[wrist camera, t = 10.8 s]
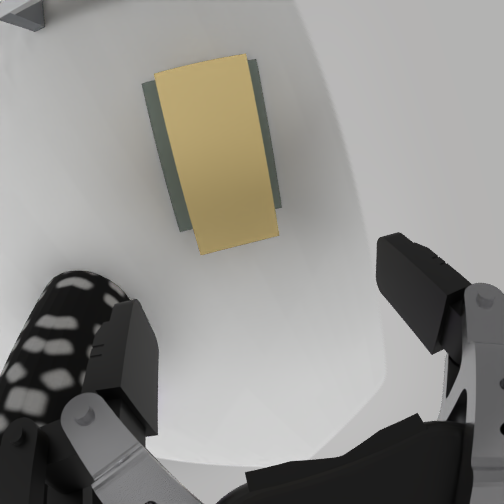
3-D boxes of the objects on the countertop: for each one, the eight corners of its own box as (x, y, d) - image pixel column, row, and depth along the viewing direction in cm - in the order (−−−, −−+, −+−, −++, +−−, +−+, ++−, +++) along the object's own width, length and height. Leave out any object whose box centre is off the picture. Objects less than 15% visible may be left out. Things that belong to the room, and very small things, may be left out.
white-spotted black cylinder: (76, 249, 21) (-33, 534, 3) (157, 318, 25) (162, 589, 7) (26, 310, 22) (-53, 528, 5) (99, 366, 26) (77, 581, 8)
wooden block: (160, 78, 17) (153, 73, 13) (234, 62, 17) (245, 53, 14) (198, 227, 21) (200, 255, 18) (263, 211, 22) (279, 235, 18)
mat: (142, 84, 17) (141, 83, 17) (254, 59, 18) (256, 59, 17) (180, 229, 22) (180, 232, 21) (280, 205, 22) (281, 207, 22)
